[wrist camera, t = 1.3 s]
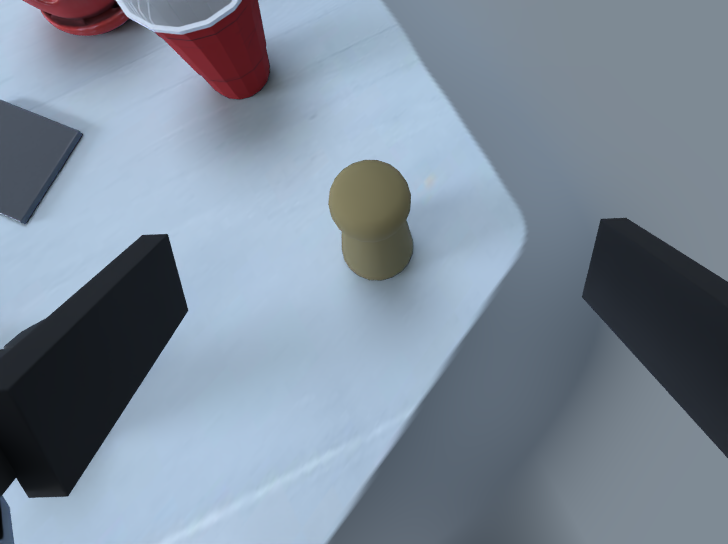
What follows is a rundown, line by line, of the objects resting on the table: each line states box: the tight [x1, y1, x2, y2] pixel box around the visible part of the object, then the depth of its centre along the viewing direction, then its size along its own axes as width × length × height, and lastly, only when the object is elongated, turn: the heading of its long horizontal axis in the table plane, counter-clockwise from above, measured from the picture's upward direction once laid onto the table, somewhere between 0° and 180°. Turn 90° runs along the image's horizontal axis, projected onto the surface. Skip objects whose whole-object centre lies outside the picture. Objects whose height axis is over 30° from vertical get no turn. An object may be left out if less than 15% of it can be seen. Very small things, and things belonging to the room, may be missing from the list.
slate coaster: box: [0, 100, 83, 224], centre depth 41 cm, size 10×10×1 cm
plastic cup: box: [116, 0, 270, 99], centre depth 35 cm, size 11×11×12 cm
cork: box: [328, 160, 413, 280], centre depth 30 cm, size 6×6×11 cm
